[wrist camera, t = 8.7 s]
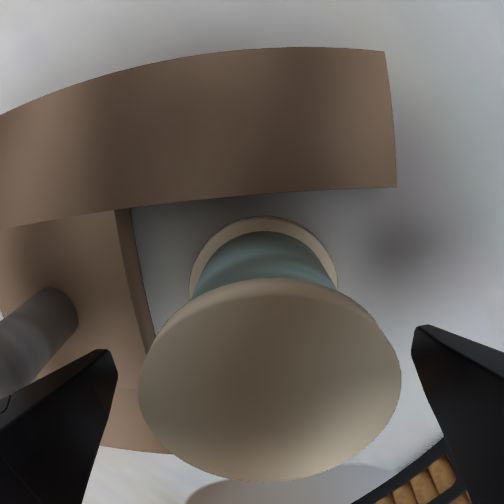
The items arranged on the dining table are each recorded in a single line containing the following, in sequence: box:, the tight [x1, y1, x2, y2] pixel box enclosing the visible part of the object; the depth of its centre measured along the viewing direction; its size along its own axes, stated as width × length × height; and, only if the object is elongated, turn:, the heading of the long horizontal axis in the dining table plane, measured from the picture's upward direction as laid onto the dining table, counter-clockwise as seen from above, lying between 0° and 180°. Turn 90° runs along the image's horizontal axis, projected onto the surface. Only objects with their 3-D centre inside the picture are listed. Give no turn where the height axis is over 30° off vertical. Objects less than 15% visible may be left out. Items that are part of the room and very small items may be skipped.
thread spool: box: [137, 216, 401, 482], centre depth 10 cm, size 6×6×7 cm
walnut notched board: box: [0, 47, 396, 454], centre depth 10 cm, size 18×18×6 cm
